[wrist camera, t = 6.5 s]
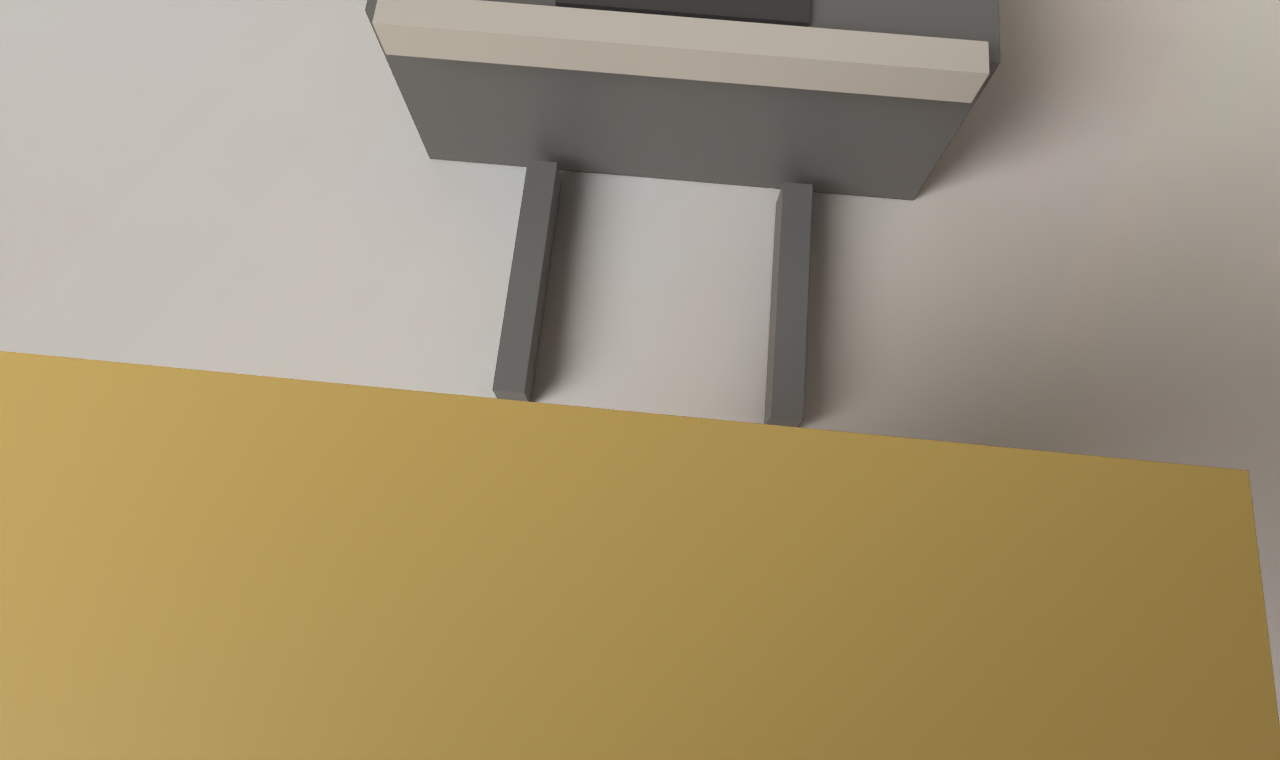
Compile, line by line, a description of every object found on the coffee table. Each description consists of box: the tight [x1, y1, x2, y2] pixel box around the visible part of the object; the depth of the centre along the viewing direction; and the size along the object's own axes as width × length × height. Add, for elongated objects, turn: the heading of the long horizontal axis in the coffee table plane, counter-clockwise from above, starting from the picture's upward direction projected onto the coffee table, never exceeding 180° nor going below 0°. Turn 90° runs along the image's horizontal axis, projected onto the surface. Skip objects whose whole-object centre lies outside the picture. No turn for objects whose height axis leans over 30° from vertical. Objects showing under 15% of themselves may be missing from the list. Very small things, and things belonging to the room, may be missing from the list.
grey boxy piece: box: [365, 0, 1000, 427], centre depth 21 cm, size 15×14×7 cm
